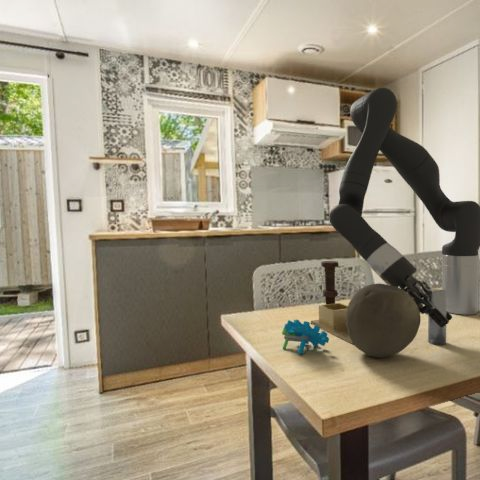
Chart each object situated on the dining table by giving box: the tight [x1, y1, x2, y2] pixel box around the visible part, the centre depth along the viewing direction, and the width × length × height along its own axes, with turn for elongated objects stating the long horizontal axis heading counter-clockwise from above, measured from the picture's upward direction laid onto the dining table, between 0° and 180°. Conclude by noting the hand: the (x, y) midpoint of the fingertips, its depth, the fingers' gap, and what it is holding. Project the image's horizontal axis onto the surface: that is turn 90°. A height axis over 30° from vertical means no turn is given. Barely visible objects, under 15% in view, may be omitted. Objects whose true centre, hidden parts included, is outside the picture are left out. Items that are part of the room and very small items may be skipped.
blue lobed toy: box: [281, 319, 330, 355], centre depth 77 cm, size 11×6×10 cm
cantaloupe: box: [346, 282, 421, 359], centre depth 73 cm, size 14×14×15 cm
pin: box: [427, 288, 447, 346], centre depth 79 cm, size 4×4×12 cm
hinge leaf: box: [310, 302, 354, 345], centre depth 91 cm, size 12×18×5 cm, turn 20°
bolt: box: [320, 260, 339, 305], centre depth 115 cm, size 6×5×15 cm
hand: (447, 322), depth 78 cm, fingers closed on pin, 3 cm apart
